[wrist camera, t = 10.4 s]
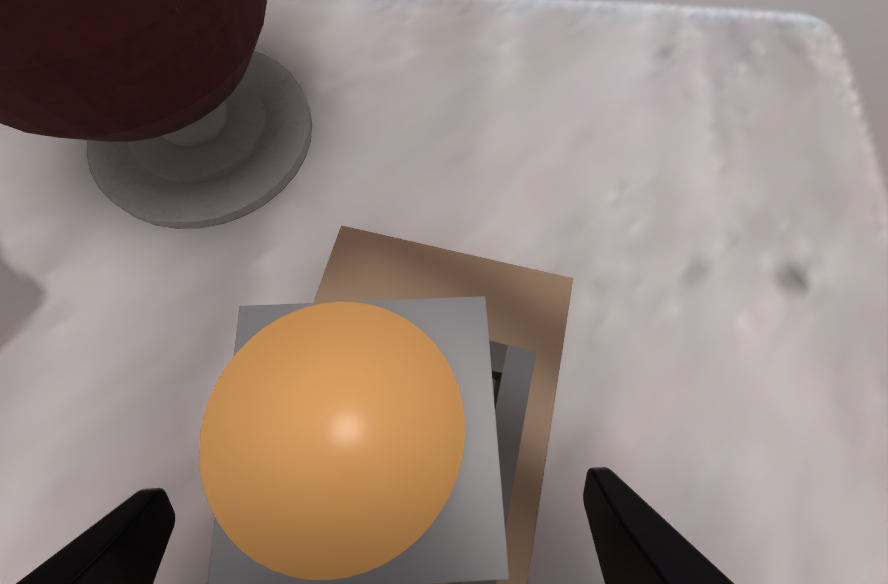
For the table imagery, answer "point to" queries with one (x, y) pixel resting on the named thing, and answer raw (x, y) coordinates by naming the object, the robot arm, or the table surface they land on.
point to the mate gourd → (158, 101)
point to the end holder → (511, 350)
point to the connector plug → (356, 446)
